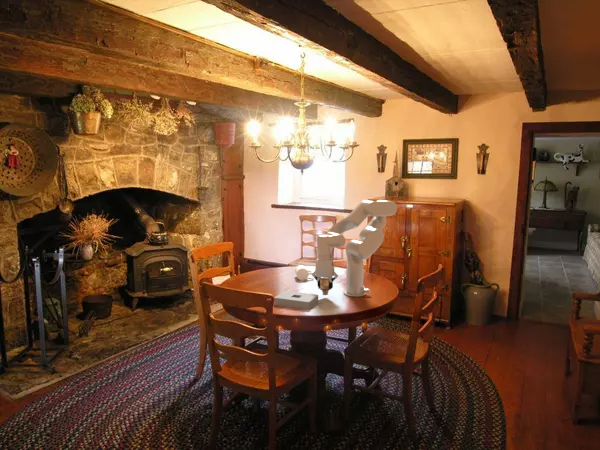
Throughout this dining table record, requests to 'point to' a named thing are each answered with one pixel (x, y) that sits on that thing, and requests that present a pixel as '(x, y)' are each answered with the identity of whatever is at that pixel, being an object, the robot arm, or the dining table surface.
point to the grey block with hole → (296, 300)
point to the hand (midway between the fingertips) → (325, 288)
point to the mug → (302, 272)
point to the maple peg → (324, 285)
